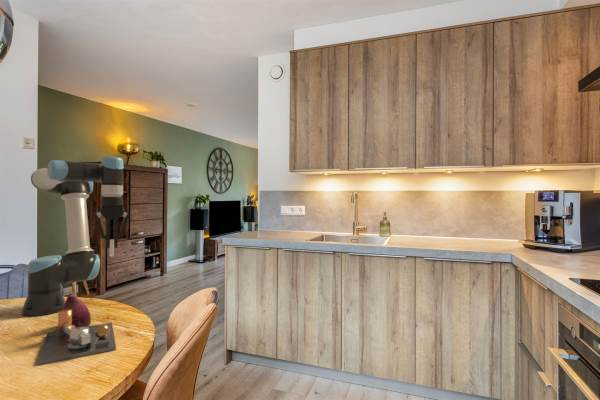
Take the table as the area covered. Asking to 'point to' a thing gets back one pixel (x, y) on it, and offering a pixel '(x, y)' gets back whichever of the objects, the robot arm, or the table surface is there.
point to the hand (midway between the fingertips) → (111, 256)
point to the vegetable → (77, 311)
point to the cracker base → (61, 348)
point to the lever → (72, 328)
